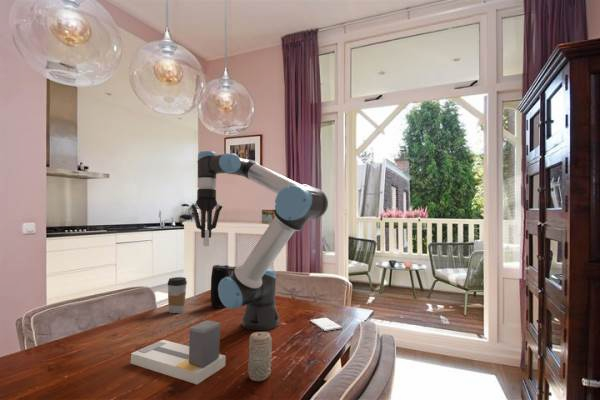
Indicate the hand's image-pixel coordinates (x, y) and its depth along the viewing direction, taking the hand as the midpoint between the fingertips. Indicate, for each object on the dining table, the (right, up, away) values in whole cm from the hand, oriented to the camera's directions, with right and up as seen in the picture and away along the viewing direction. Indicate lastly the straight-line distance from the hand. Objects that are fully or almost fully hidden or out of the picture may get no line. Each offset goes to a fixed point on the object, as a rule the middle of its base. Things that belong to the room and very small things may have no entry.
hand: (206, 245), depth 135 cm
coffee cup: (-18, -32, +15) cm, 40 cm away
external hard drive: (+49, -34, +1) cm, 60 cm away
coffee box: (0, -34, +42) cm, 54 cm away
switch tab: (+11, -27, -40) cm, 50 cm away
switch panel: (+2, -31, -36) cm, 47 cm away
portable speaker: (0, -33, +25) cm, 41 cm away
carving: (+27, -31, -43) cm, 59 cm away
